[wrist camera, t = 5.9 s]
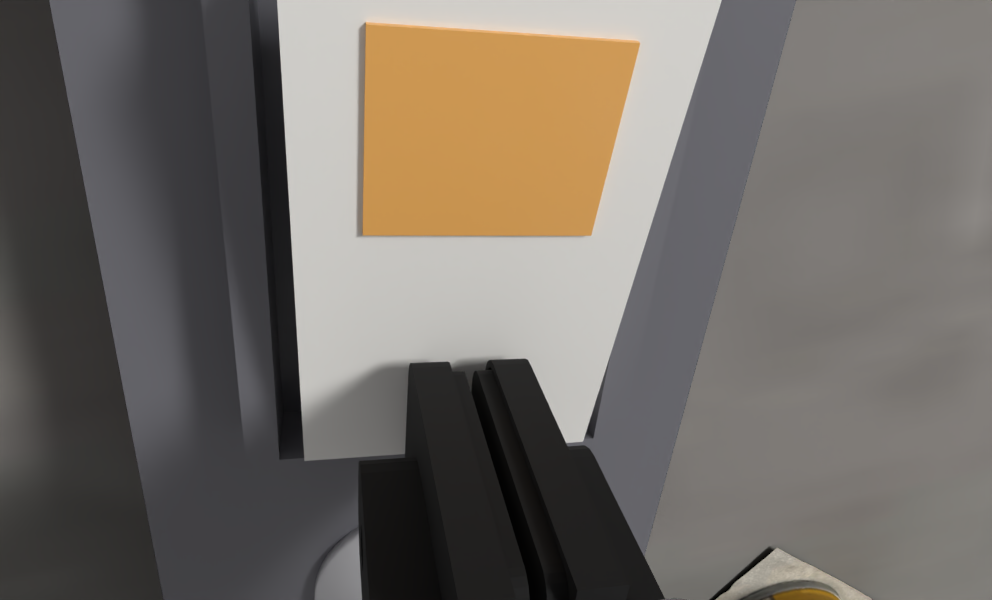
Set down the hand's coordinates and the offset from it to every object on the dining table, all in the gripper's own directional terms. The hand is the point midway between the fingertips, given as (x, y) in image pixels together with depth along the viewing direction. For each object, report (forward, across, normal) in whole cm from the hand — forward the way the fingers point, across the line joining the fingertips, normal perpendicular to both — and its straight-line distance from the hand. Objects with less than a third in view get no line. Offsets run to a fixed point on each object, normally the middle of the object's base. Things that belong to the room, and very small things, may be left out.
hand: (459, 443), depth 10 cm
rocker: (0, 0, -3) cm, 3 cm away
